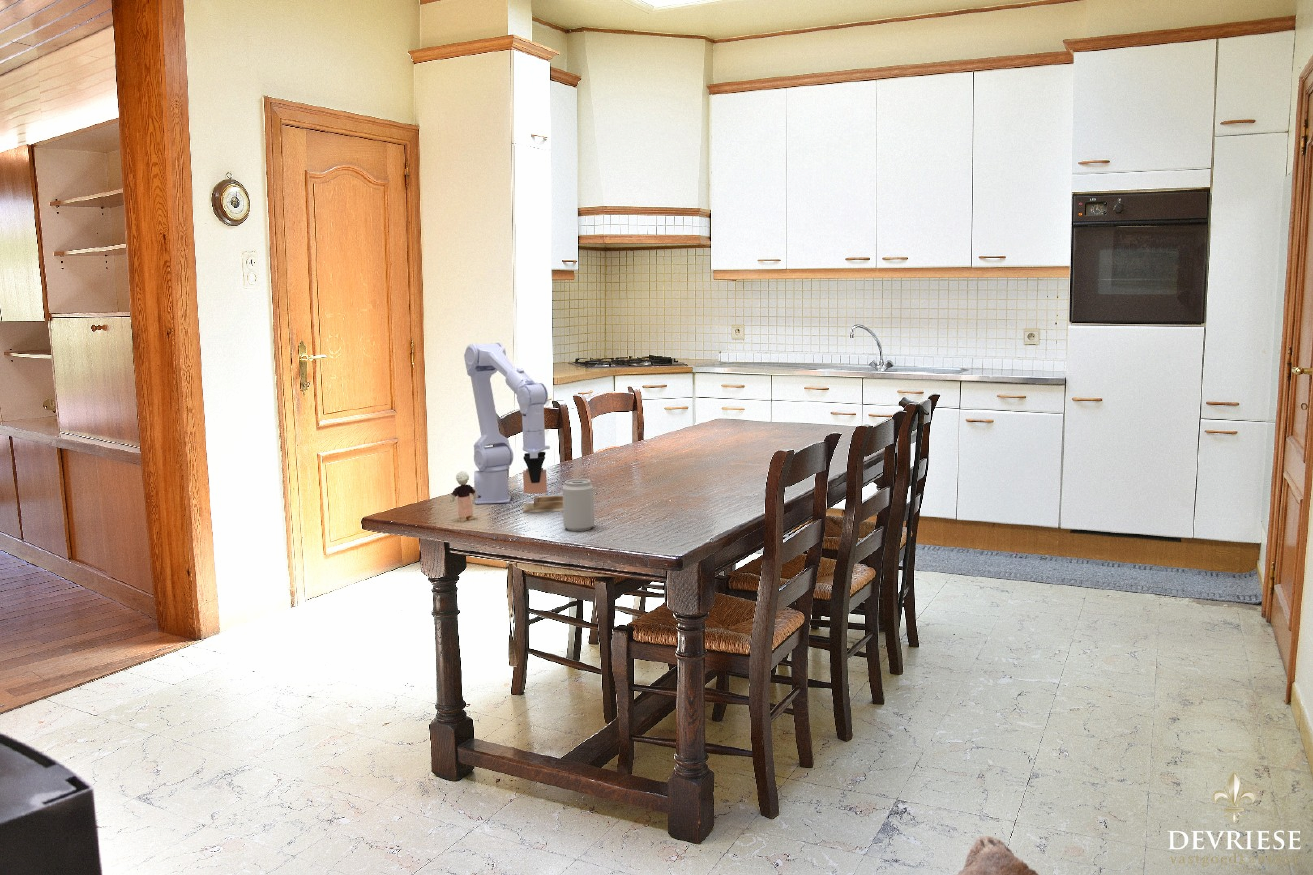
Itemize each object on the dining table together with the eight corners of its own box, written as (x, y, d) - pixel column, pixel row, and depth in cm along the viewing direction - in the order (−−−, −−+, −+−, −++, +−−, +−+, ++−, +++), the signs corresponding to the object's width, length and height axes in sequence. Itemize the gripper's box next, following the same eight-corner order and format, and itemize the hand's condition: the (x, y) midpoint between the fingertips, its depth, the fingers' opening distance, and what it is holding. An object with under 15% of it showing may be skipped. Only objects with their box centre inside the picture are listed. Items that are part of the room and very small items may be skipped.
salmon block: (523, 493, 269) (522, 470, 268) (524, 490, 273) (523, 468, 272) (546, 492, 269) (545, 470, 268) (546, 489, 273) (546, 467, 272)
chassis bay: (523, 512, 271) (522, 503, 271) (523, 505, 280) (523, 497, 280) (583, 509, 273) (583, 500, 273) (582, 503, 282) (582, 494, 282)
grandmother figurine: (470, 516, 268) (468, 468, 267) (480, 518, 266) (478, 469, 264) (447, 521, 263) (445, 473, 261) (457, 523, 260) (454, 474, 258)
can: (594, 524, 255) (593, 477, 254) (594, 531, 248) (592, 482, 246) (564, 525, 255) (562, 478, 254) (563, 532, 248) (561, 483, 246)
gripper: (548, 433, 262) (550, 485, 264) (549, 426, 276) (551, 475, 278) (520, 434, 261) (523, 486, 263) (522, 426, 275) (524, 476, 277)
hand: (535, 481), depth 270 cm, fingers closed on salmon block, 4 cm apart
